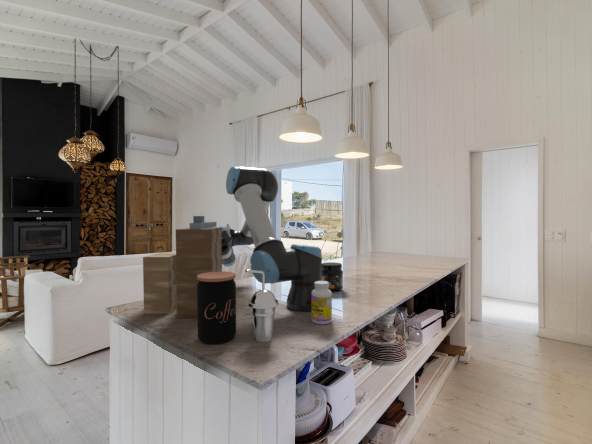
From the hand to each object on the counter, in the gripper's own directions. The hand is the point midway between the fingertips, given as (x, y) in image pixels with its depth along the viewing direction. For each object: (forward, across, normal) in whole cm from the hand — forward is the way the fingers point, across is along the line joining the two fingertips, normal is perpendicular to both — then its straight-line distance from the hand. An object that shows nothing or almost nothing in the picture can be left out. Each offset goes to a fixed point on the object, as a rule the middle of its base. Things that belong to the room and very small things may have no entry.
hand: (210, 226), depth 131 cm
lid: (+9, 0, -5) cm, 10 cm away
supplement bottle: (+7, -43, -39) cm, 59 cm away
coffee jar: (+19, -13, -46) cm, 52 cm away
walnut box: (-2, 0, -34) cm, 34 cm away
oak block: (-5, +14, -31) cm, 35 cm away
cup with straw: (+20, -26, -46) cm, 57 cm away
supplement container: (-31, -50, -17) cm, 62 cm away
